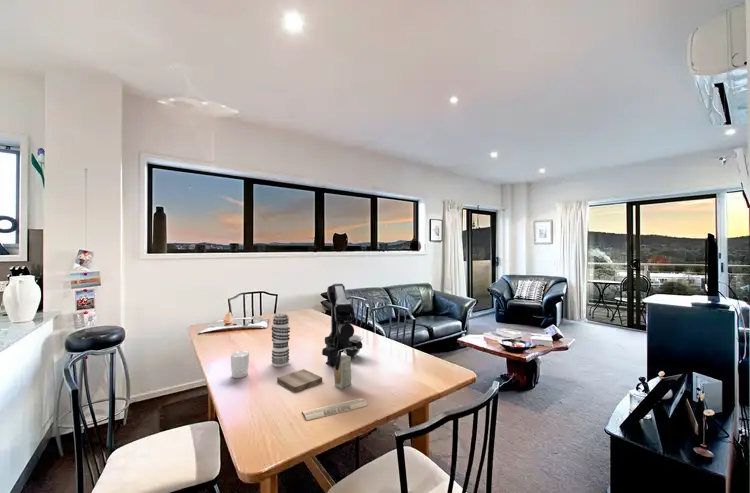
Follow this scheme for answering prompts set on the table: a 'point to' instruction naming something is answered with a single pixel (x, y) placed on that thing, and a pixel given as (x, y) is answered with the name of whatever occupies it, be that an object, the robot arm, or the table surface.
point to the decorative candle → (280, 340)
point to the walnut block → (299, 380)
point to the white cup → (239, 364)
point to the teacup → (355, 339)
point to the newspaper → (334, 409)
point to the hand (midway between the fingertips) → (342, 367)
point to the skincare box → (343, 372)
